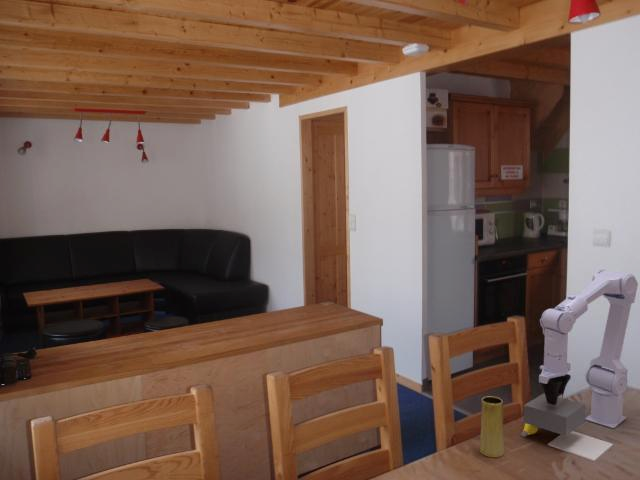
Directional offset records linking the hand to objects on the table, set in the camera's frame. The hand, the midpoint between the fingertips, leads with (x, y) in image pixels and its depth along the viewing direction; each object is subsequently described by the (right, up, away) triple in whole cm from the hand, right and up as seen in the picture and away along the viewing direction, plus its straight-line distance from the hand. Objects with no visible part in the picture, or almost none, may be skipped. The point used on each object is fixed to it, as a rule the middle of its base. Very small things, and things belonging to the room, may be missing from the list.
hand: (554, 401), depth 149 cm
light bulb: (-6, -11, +4) cm, 13 cm away
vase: (-19, -12, -6) cm, 23 cm away
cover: (0, -6, +1) cm, 6 cm away
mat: (+6, -11, -3) cm, 13 cm away
